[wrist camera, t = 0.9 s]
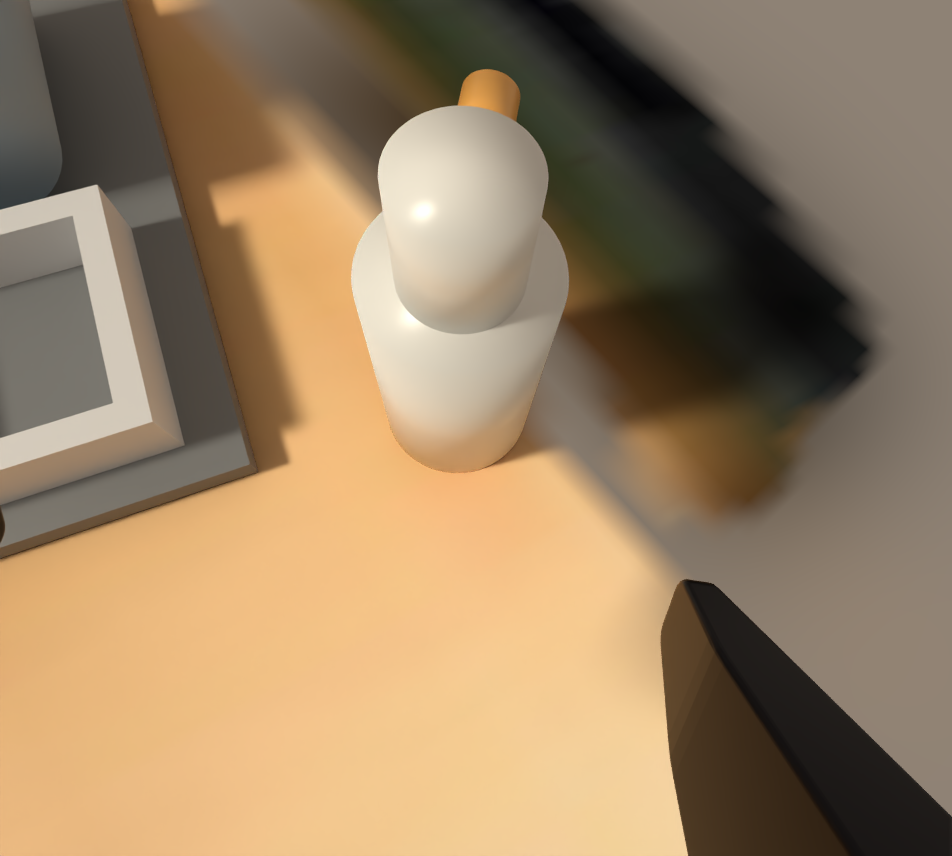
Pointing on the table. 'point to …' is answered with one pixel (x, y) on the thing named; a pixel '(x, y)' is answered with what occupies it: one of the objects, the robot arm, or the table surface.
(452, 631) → the table surface
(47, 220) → the tray with square frame
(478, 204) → the white rounded upright piece
